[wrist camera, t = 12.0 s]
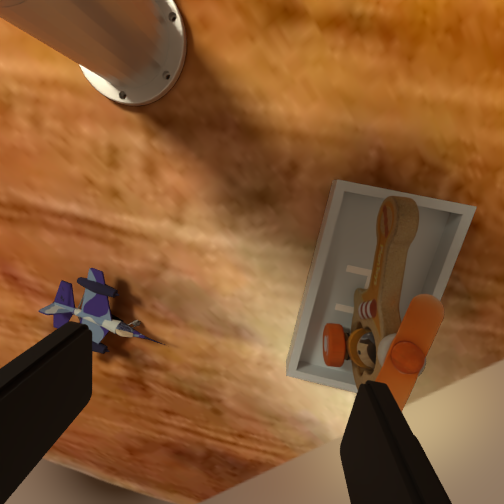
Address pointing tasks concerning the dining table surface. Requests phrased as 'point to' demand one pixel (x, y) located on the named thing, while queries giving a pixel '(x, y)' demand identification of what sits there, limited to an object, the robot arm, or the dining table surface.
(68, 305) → the toy airplane
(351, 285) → the tray
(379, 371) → the toy helicopter
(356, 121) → the dining table surface
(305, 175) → the dining table surface
